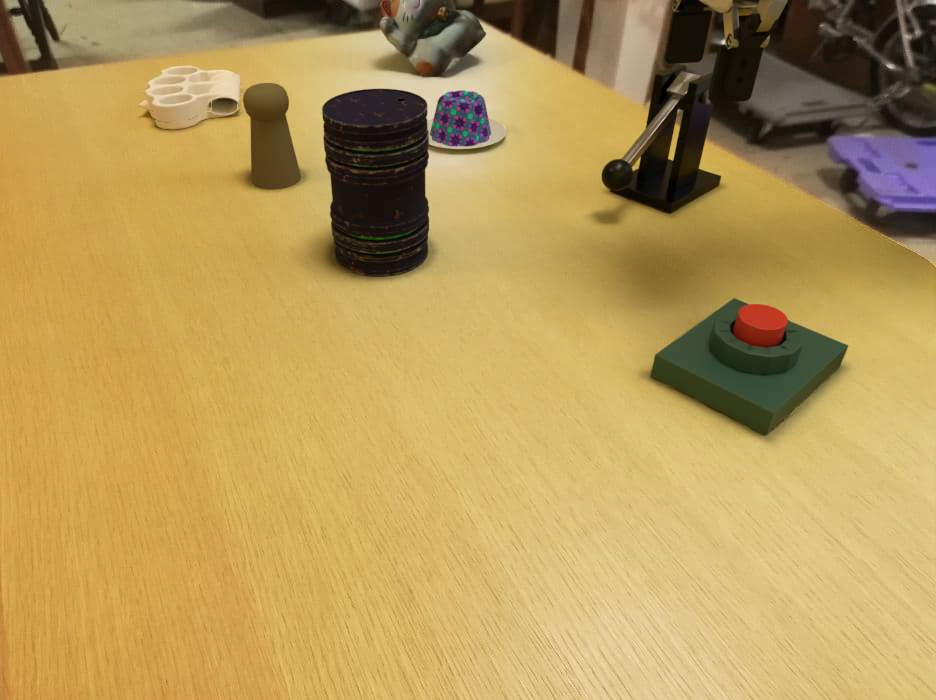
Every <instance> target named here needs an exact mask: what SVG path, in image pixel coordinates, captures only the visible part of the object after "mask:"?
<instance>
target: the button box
mask: <svg viewBox="0 0 936 700" xmlns="http://www.w3.org/2000/svg"><path fill="white" fill-rule="evenodd" d="M749 304H750V303H747V302H745V301H742V300H740V299H737V298H735V297H733V298H731V300H729V301H728V302H726V303H725V304H723V305H722V306H720V307H719V308H718V309H716V310H715V311H714V312H713V313H711V314H710V315H708V316H707V317H705V318H704V319H703V320H701V321H700V322H698V323H697V324H696V325H694V326H693V327H692V328H690V329H689V330H687V331H686V332H685V333H683V334H682V335H680V336H679V337H678V338H677V339H675V340H674V341H672V342H670V343H669V344H668V345H666V346H665V347H664V348H662V349H661V350H660V351H658V352H657V353H655V355H654V358H653V363H652V367H651V370H650V371H651V372H650V377H651V378H654V379H656V381H658V382H661V383H663V384H665V385H667V386H669V387H671V388H673V389H675V390H677V391H679V392H681V393H682V394H684V395H686V396H687V397H688V396H689V397H690V398H692V399H694V400H696V401H699V402H700V403H702V404H704V405H706V406H708V407H710V408H711V409H714V410H716V411H717V412H720V413H722V414H724V415H725V416H727V417H729V418H731V419H733V420H735V421H737V422H739V423H741V424H742V425H745V426H747V427H749V428H751V429H753V430H754V431H757V432H758V433H760V434H763V435H765V436H767V435H768V434H769V433H770V432H771V431H772V430H773V429H774V428H775V427H777V425H778V424H780V423H781V422H782V421H783V419H785V418H786V417H788V415H789V414H791V413H792V411H794V410H795V409H796V408H797V407H798V406H800V404H802V402H803V401H804V400H806V399H807V398H808V397H809V396H810V395H812V393H814V391H815V390H817V389H818V388H819V387H820V386H821V385H822V384H823V383H824V382H825V381H826V380H827V379H829V378H830V377H831V376H832V375H833V374H834V373H835V372H836V371H837V370H839V369H840V367H841V365H842V363H843V360H844V358H845V355H846V353H847V351H848V348H849V345H848V344H847V343H844V342H841V341H839V340H837V339H834V338H831V337H829V336H827V335H824V334H822V333H820V332H817V331H816V330H815V331H814V330H812V329H810V328H807V327H805V326H803V325H800V324H798V323H795V322H793V321H791V320H790V319H788V323H787V326H786V329H785V332H784V335H783V338H782V340H781V342H780V343H779V344H778V345H776V346H773V347H767V348H765V347H759V346H752V345H750V344H747V343H745V342H743V341H741V340H738V339H737V338H736V337H735V335H734V333H733V328H734V325H735V321H736V318H737V315H738V312H739V310H740V309H741V308H742V307H743V306H746V305H749Z"/></svg>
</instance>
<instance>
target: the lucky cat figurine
mask: <svg viewBox="0 0 936 700" xmlns="http://www.w3.org/2000/svg"><path fill="white" fill-rule="evenodd" d="M379 6H380V22H379V28H380V30H381V33H382V34H383V36H384V37H385V38H386V40H387V41H388V43H390V44H391V45H392V46H393V47H394V48H395V49H396V50H397V51H398V52H399V53H400V54H401V55H403V57H405V59H406V60H407V61H409V62H410V63H411V64H412V66H413V68H414V70H415V71H416V72H417V73H418V74H420V75H422V76H423V77H425V76H428V77H442V76H443V74H444V73H447V72H449V71H450V70H451V69H452V68H453V69H454V67H456V66H457V65H458V64H459V62H460V61H462V59H463V58H464V57H465V56H466V55H467V54H468V53H470V52H471V51H472V50H473V49H474V48H475V47H476V46H478V45H479V44H480V43H481V42H482V41H483V40H484V38H485V37H486V36H487V32H486V31H485V29H484V27H483V25H482V24H481V22H480V20H479V18H478V17H477V16H476V15H475V14H474V13H473V12H471V11H469V10H467V9H456V7H457V6H456V4H455V1H454V0H382V1H380V3H379Z"/></svg>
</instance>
